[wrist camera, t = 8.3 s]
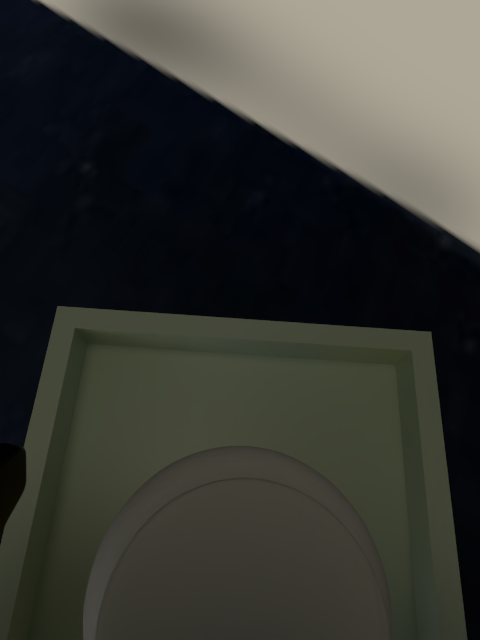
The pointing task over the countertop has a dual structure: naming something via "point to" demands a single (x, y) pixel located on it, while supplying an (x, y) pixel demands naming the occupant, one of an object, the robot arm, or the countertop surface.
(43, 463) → the tray
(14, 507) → the robot arm
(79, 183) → the countertop surface
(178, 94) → the countertop surface
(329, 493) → the supplement bottle
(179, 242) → the countertop surface
